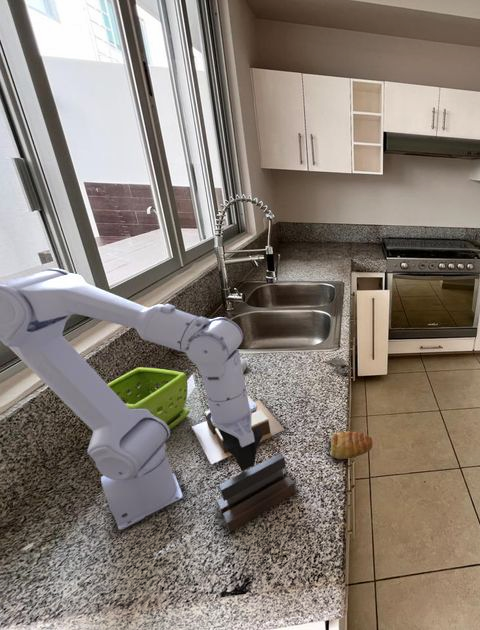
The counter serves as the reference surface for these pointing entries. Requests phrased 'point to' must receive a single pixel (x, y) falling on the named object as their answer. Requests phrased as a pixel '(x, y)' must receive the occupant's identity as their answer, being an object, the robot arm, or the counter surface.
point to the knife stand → (256, 503)
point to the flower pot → (155, 393)
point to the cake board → (211, 441)
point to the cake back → (211, 423)
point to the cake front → (256, 422)
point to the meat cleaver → (338, 365)
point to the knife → (253, 481)
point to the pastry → (349, 444)
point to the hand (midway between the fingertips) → (240, 454)
